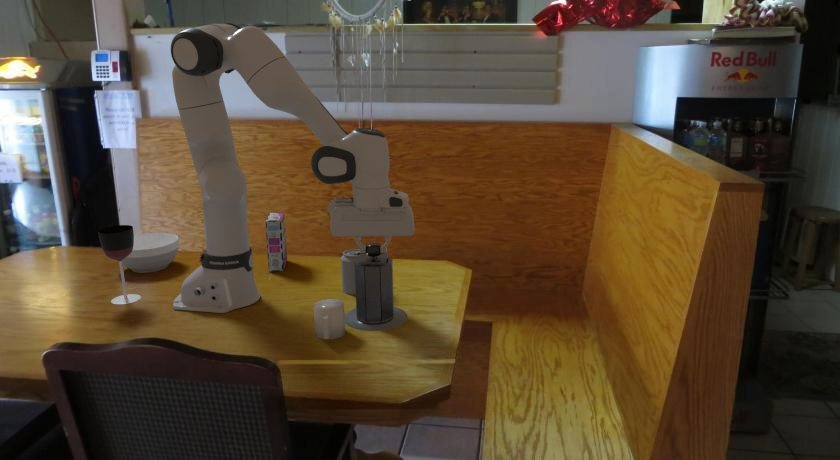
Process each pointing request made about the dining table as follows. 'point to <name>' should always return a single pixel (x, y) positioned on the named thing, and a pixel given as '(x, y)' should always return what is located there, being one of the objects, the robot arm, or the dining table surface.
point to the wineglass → (119, 253)
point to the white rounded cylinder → (329, 319)
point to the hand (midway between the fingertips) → (373, 253)
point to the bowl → (152, 252)
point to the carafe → (374, 289)
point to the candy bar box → (276, 242)
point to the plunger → (373, 250)
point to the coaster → (352, 321)
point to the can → (349, 270)
